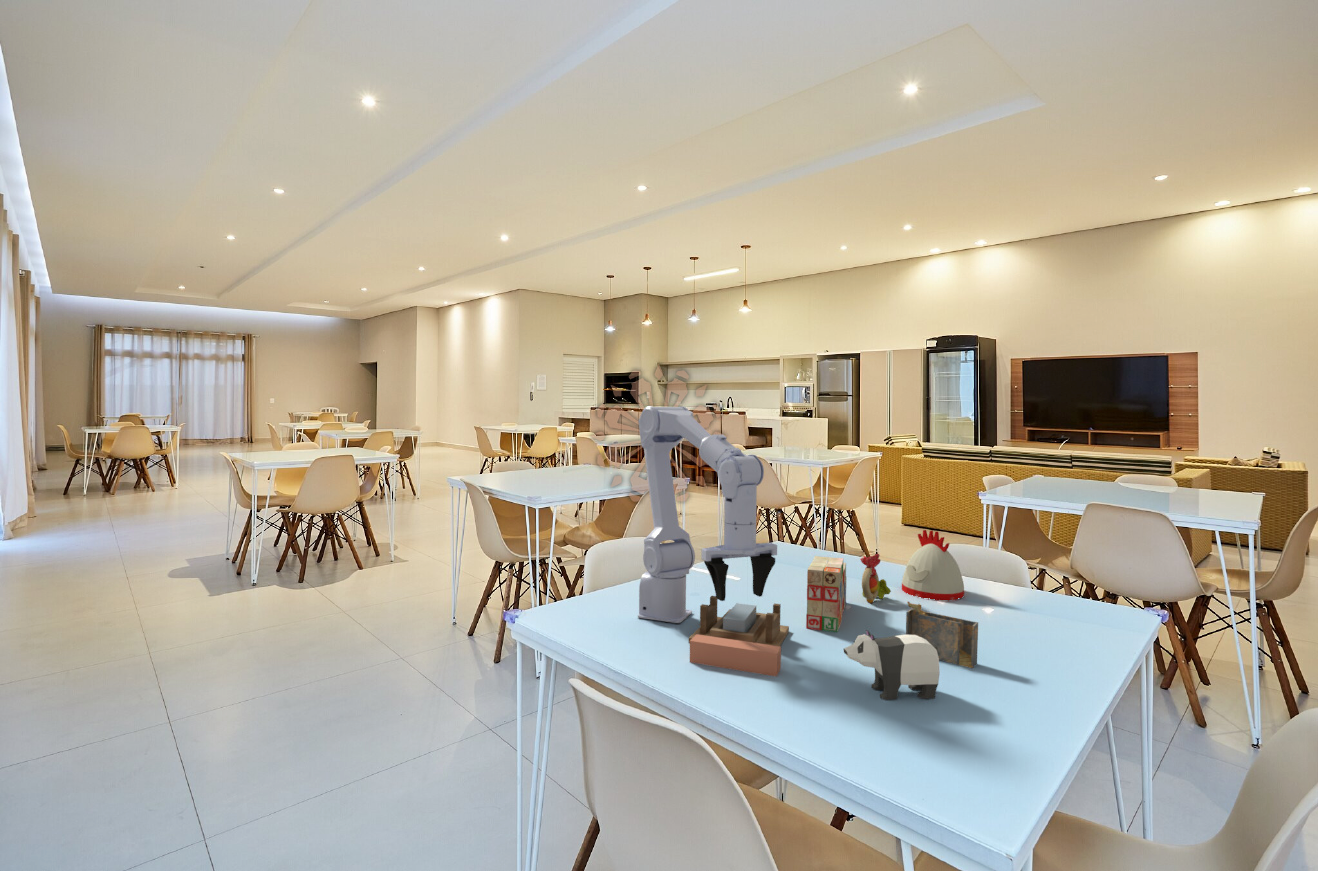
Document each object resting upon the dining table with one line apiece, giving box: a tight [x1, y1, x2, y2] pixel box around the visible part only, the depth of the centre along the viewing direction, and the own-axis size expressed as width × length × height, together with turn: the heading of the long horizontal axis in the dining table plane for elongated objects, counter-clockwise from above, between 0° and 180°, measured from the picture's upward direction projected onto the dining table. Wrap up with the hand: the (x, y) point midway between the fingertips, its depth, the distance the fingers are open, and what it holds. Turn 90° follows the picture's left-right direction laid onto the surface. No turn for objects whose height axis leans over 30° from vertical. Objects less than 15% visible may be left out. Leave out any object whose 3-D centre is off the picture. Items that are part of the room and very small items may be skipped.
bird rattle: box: [860, 553, 892, 604], centre depth 146 cm, size 6×11×9 cm
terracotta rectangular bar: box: [689, 634, 782, 677], centre depth 108 cm, size 15×4×4 cm, turn 68°
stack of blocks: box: [805, 555, 847, 633], centre depth 135 cm, size 21×6×12 cm, turn 159°
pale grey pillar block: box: [723, 602, 757, 633], centre depth 121 cm, size 4×10×4 cm, turn 159°
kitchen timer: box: [901, 529, 965, 601], centre depth 153 cm, size 14×14×15 cm
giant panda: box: [843, 629, 941, 701], centre depth 98 cm, size 15×6×10 cm, turn 93°
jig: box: [688, 595, 790, 647], centre depth 121 cm, size 16×14×6 cm
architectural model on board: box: [905, 601, 979, 669], centre depth 112 cm, size 11×3×10 cm, turn 50°
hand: (739, 597), depth 115 cm, fingers open, 7 cm apart
